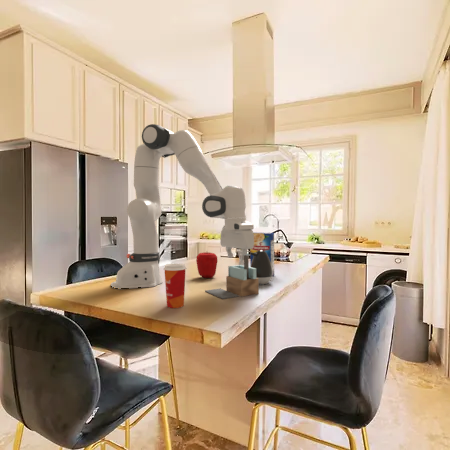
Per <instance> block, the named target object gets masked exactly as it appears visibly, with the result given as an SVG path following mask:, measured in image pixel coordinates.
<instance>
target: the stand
mask: <svg viewBox="0 0 450 450" xmlns="http://www.w3.org/2000/svg"><path fill="white" fill-rule="evenodd" d="M249 261H250V259H249V255H247V254H246V255H244V269H246V270H247V280H241V279H237V278H234V277H230V276H228V275H227V276H226V282H225V283H226V291H228V292H231V293H234V294H237V295H239V297H246V296H251V295H252V296H253V295H259V285H260V284H258V278H256V279H251V278H249V267H250V265H249Z"/></svg>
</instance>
